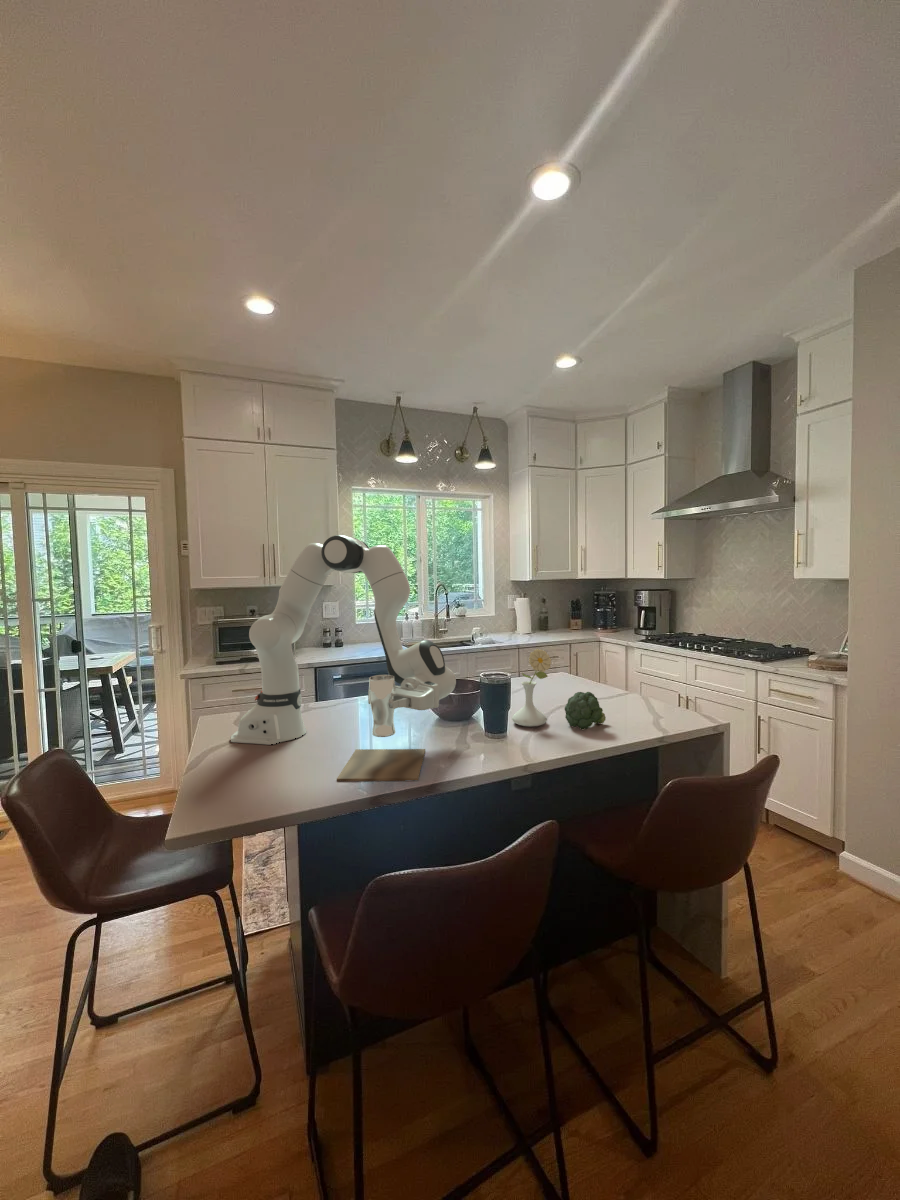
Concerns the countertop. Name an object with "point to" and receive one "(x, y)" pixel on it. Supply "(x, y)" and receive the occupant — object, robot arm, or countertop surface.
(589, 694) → the vegetable
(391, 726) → the beer glass
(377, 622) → the robot arm
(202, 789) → the countertop surface
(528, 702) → the flower in vase
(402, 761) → the tan wooden board
